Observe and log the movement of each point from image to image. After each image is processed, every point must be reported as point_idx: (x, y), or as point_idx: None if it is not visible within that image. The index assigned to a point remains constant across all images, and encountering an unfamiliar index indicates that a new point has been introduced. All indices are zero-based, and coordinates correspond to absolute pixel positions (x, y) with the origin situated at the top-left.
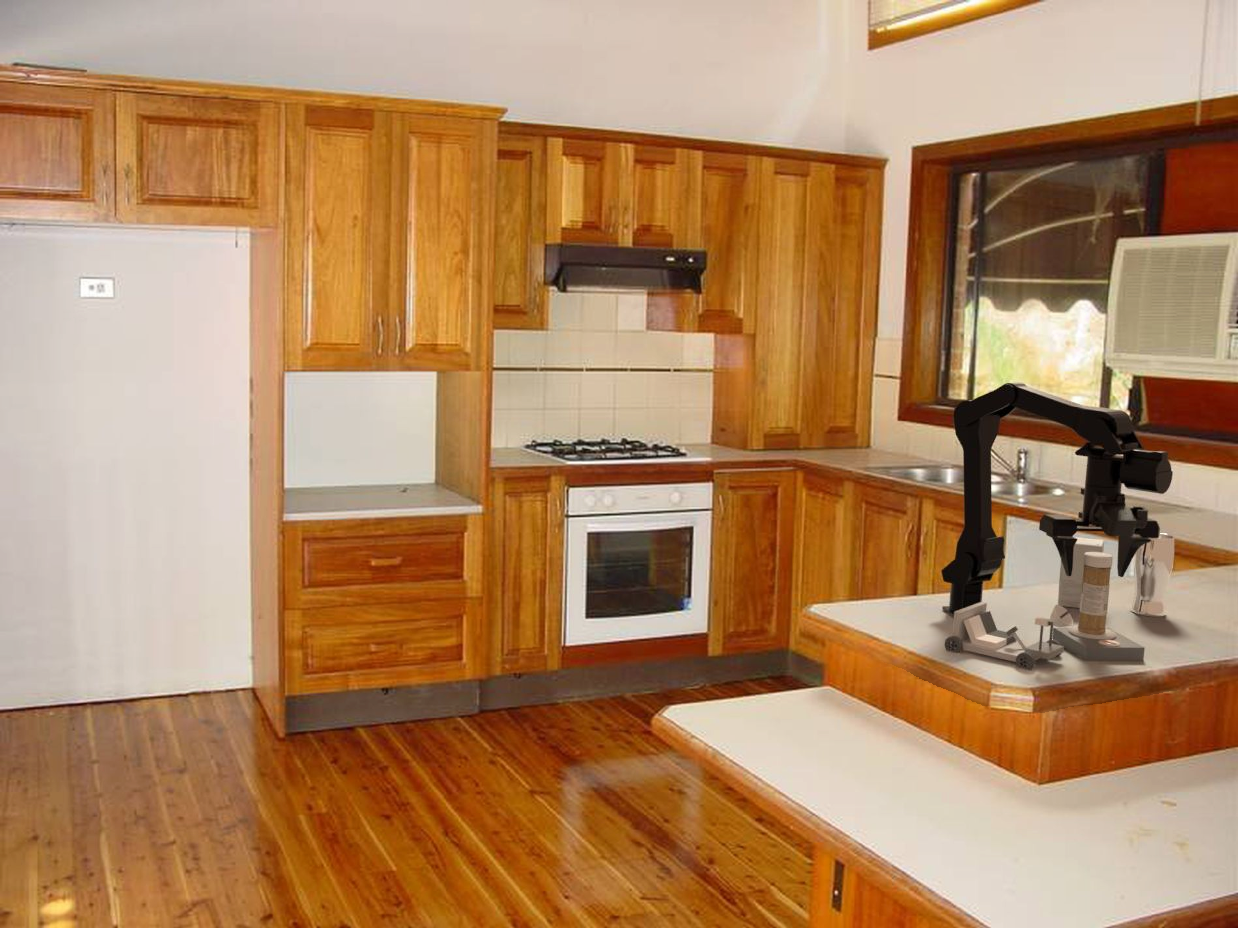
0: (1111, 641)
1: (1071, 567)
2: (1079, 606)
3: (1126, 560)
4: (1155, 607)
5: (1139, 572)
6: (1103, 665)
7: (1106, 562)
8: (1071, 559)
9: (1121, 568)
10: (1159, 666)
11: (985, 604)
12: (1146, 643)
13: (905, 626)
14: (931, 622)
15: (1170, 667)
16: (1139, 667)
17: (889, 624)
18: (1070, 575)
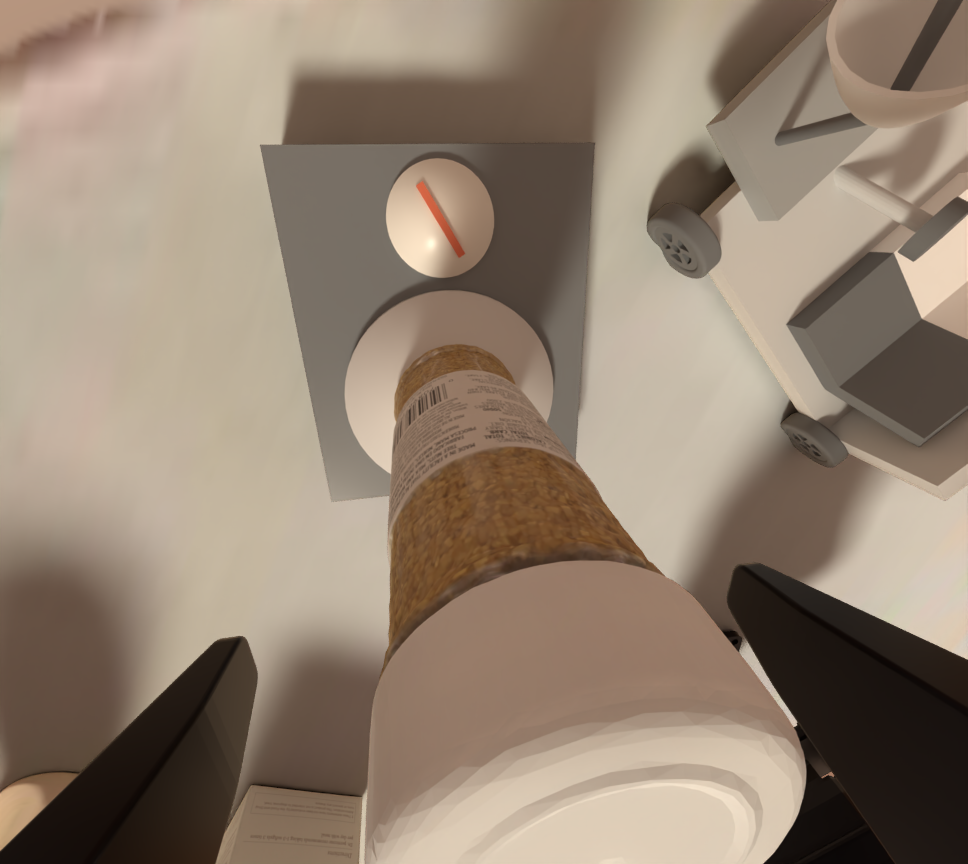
0: (419, 246)
1: (824, 610)
2: (302, 795)
3: (89, 840)
4: (22, 811)
5: None
6: (523, 61)
7: (549, 626)
8: (946, 677)
9: (211, 724)
10: (220, 35)
11: (942, 475)
12: (175, 450)
13: (918, 533)
14: (822, 581)
15: (157, 11)
16: (346, 15)
17: (945, 544)
18: (750, 564)
